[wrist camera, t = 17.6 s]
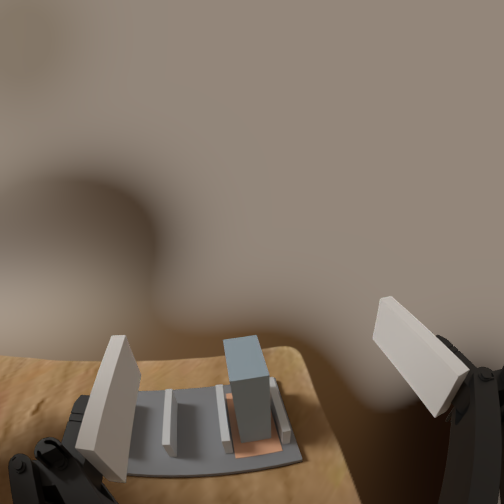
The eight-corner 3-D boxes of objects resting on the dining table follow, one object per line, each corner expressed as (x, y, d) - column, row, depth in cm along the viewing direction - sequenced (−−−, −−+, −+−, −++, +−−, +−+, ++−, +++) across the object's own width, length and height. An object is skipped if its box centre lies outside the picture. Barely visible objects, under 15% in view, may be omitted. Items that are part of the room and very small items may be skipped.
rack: (113, 473, 24) (99, 459, 23) (126, 394, 39) (118, 376, 38) (302, 461, 28) (304, 447, 26) (274, 380, 42) (274, 362, 41)
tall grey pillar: (241, 443, 30) (229, 381, 26) (234, 405, 37) (223, 339, 32) (271, 438, 31) (269, 375, 26) (261, 401, 37) (256, 335, 33)
